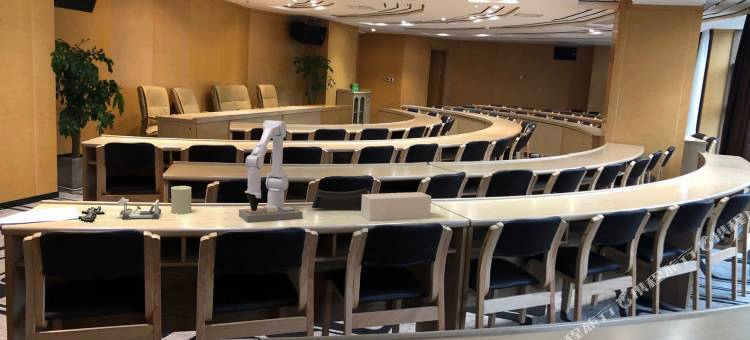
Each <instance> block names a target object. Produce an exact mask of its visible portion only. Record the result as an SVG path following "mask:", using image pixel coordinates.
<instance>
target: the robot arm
mask: <svg viewBox="0 0 750 340" xmlns="http://www.w3.org/2000/svg"><path fill="white" fill-rule="evenodd" d="M262 131H263V132H262V135H261V137H260V140H259V142H256V144H255V145H254V147H253V150H252V151H251V153H250V154H249V155H247V156H246V158H245V167H246V171H247V189H246V190H244V193H246V194H248V195H246V197H247V200H248V202H249V206H250V209H251V211H256V210H257V208H259V207H258V206H259V204H260V203H259V202H260V200H261V199H262V190H261V187H262V186H261V183H262V182H261V181H262V180H261V179H262V177H261V175H262V167H263V166H264V160H265V155H266V154H267V151H268V147H267V146H268V144H269V143H270V142H271V139H272V156H271V157H272V159H271V171H270V172H268V173H267V174H266V180H265V186H266V188H267V189H268V192H267V204H266V205H265V206H276V207H284V206H285V191H286V190H287V189H288V186H289V179H288V174H287V173H285V172H284V171H283V157H284V154H283V152H284V151H283V150H284V138H286V137H287V136H286V135H287V124H286V122H285V121H284V120H273V119H271V120H270V119H265V120H264V121H263V123H262Z"/></svg>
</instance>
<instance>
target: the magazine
mask: <svg viewBox="0 0 750 340" xmlns="http://www.w3.org/2000/svg"><path fill="white" fill-rule="evenodd" d="M362 194H371V193H370V191H369V190H367V188H365V187H364V188H363V189H359V190H352V191H326V190H321V189H319V188H318V189H317V191H316V192H315V196H314V199H313V201H312V205H311V209H317V210H325V211H326V210H327V211H332V212H333V211H337V212H338V211H340V212H341V211H343V212H344V211H346V212H347V211H358V210H361V209H362V208H361V207H362V206H361V205H362Z"/></svg>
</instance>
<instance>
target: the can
mask: <svg viewBox="0 0 750 340" xmlns="http://www.w3.org/2000/svg"><path fill="white" fill-rule="evenodd" d="M170 189H171V190H170V192H171V193H170V195H171V200H170V201H171V203H170V204H171V208H170V209H171V211H170V213H172V214H175V213H178V214H177V215H183V214H184V215H185V214H190V213H192V187H191V186H187V185H179V186H178V185H176V186H175V185H174V186H171V187H170Z"/></svg>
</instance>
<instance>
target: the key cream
mask: <svg viewBox="0 0 750 340" xmlns="http://www.w3.org/2000/svg"><path fill="white" fill-rule="evenodd" d="M263 208H264V211H265V212H266V213H268V212H278V208H277V207H276V206H266V205H265V206H263Z"/></svg>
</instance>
